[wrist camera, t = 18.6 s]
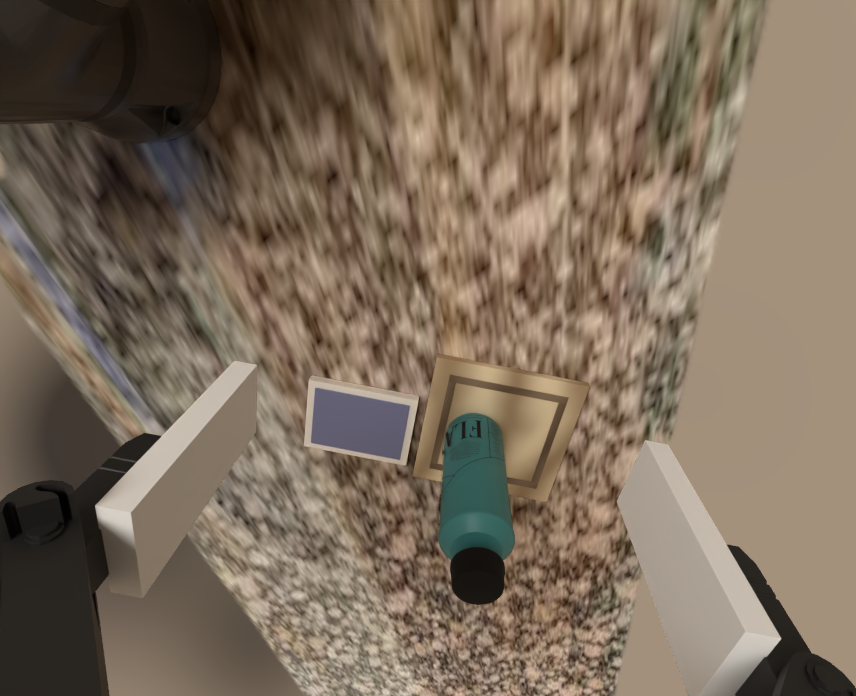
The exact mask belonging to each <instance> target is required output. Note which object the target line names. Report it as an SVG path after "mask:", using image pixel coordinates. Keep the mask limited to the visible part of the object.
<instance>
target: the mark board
mask: <svg viewBox="0 0 856 696" xmlns="http://www.w3.org/2000/svg"><path fill="white" fill-rule="evenodd" d="M589 388H590V386H589V384H588V383H586V382H581V381H576V380H570V379H565V378H560V377H555V376H550V375H545V374H539V373H534V372H529V371H524V370H519V369H514V368H508V367H503V366H498V365H493V364H488V363H483V362H477V361H472V360H467V359H462V358H457V357H452V356H446V355H441V354H437V358H436V363H435V368H434V373H433V378H432V383H431V388H430V393H429V397H428V402H427V407H426V412H425V417H424V422H423V427H422V432H421V437H420V441H419V446H418V451H417V456H416V461H415V466H414V471H413V476H415V477H420V478H425V479H430V480H435V481H441V482H442V479H441V478H442V477H441V475H443V463H442V459H443V458H444V454H443V458H442V448H443V447H444V445H443V444H444V443H443V442H444V440H445V433H446V430H447V428H448V425H449V424H450V423H451V422H452V421H453V420H454V419H455V418H457V417H458V416H461V415H463V414H467V413H479V414H483V415H486V416H488V417H490V418H491V419H493V420H494V421H495V422H496V423H497V424H498V425H499V426H500V427H499V428H501V429H500V430H501V432H502V436H503V444H504V445H505V446H504V454H506V455H505V457H506V458H505V460H506V461H505V463H506V462H507V463H506V473H507V483H508V492H509V495H513V496H518V497H523V498H528V499H533V500H538V501H544V502H547V499H548V497H549V494H550V491H551V489H552V486H553V483H554V481H555V478H556V475H557V473H558V470H559V467H560V465H561V462H562V459H563V457H564V454H565V451H566V449H567V446H568V443H569V441H570V438H571V435H572V433H573V430H574V428H575V425H576V422H577V420H578V417H579V414H580V412H581V409H582V406H583V404H584V401H585V398H586V396H587V393H588V390H589ZM443 435H444V436H443ZM443 451H444V448H443ZM441 467H442V468H441ZM441 471H442V472H441ZM507 471H508V472H507ZM441 473H442V474H441Z"/></svg>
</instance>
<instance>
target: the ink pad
mask: <svg viewBox="0 0 856 696" xmlns="http://www.w3.org/2000/svg"><path fill="white" fill-rule="evenodd" d="M418 401H419V396H416V395H411V394H406V393H401V392H396V391H391V390H385V389H380V388H375V387H370V386H365V385H360V384H355V383H349V382H344V381H339V380H334V379H329V378H324V377H318V376H313V375H311V377H310V379H309V384H308V398H307V411H306V425H305V439H304V446H307V447H312V448H317V449H322V450H327V451H332V452H338V453H343V454H348V455H353V456H358V457H363V458H369V459H374V460H379V461H384V462H389V463H394V464H400V465H405V466H406V463H407V458H408V452H409V447H410V442H411V437H412V432H413V427H414V422H415V416H416V411H417V406H418Z"/></svg>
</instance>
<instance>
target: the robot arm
mask: <svg viewBox="0 0 856 696" xmlns="http://www.w3.org/2000/svg"><path fill="white" fill-rule="evenodd" d="M220 73H221V51H220V43H219V37H218V33H217V28H216V25H215V22H214V19H213V16H212V13H211V10H210V8H209V6H208V3H207V1H206V0H0V124H34V123H67V122H75V123H78V124H80V125H82V126H85V127H87V128H89V129H92V130H94V131H96V132H99V133H101V134H103V135H106V136H108V137H111V138H114V139H117V140H122V141H126V142H133V143H152V142H162V141H168V140H172V139H176V138H178V137H181V136H183V135H185V134H186V133H188V132H190V131H191V130H192V129H194V128H195V127H196V126H197V125H198V124H199V123H200V122H201V121H202V120H203V119H204V117H205V116H206V114H207V113H208V111H209V110H210V108H211V106H212V104H213V102H214V99H215V97H216V93H217V90H218V86H219V81H220ZM256 410H257V365H255V364H249V363H244V362H239V361H234V362H233V363H232V364H231V365H230V366H229V367H228V368H227V369H226V370H225V371H224V372H223V373H222V374H221V375H220V376H219V377H218V378H217V379H216V380H215V382H214V383H213V384H212V385H211V386H210V387H209V388H208V389H207V390H206V391H205V392H204V393H203V394H202V395H201V396H200V397H199V398H198V399H197V400H196V401H195V402H194V403H193V404H192V405H191V406H190V407H189V409H188V410H187V411H186V412H185V413H184V414H183V415H182V416H181V417H180V418H179V419H178V420H177V421H176V422H175V423H174V424H173V425H172V426H171V427H170V428H169V429H168V430H167V431H166V432H165V433H164V434H163V436H158V435H153V434H147V433H143V434H142V435H140V436H138V437H136V438H134V439H132V440H130V441H128V442H126V443H125V444H124V445H123V446H121V447H120V448H119V449H118V450H117V451H116V452H115V453H114V454H113V455H112V457H111V459H108V460H107V461H106V462H105V463H104V464H102V465H101V467H100V469H97V470H96V471H95V472H94V473H93V474H92V475H91V476H90V477H89V478H88V479H87V480H86V481H85V482H84V483H82V484H81V485H80V486H79V487H78V488H77V489H76V490H75V491H74V489H73V487H72V486H71V485H69V484H67V483H65V482H62V481H53V480H49V481H42V482H35V483H32V484H29V485H26V486H23V487H20V488H18V489H17V490H15V491H13V492H12V493H10V494H8V495H7V496H6V497H5V498H4V499H3V500H1V502H0V696H109V689H108V681H107V674H106V666H105V658H104V650H103V643H102V635H101V627H100V619H99V612H98V604H97V597H96V592H95V591H96V590H97V589H98V588H99V586H100V585H101V584H102V582H103V581H104V580H105V579H106V577H107V576H108V581H109V586H110V591H111V592H112V593H118V594H123V595H128V596H133V597H138V598H143V597H144V596H145V594H146V593H147V591H148V590H149V588H150V587H151V585H152V584H153V582H154V581H155V579H156V578H157V576H158V575H159V573H160V572H161V571H162V569H163V568H164V566H165V565H166V563H167V562H168V560H169V559H170V557H171V556H172V554H173V553H174V551H175V550H176V549H177V547H178V546H179V544H180V543H181V541H182V540H183V538H184V537H185V535H186V534H187V532H188V531H189V530H190V528H191V527H192V525H193V524H194V522H195V521H196V519H197V518H198V516H199V515H200V513H201V512H202V510H203V509H204V508H205V506H206V505H207V503H208V502H209V500H210V499H211V497H212V496H213V494H214V493H215V491H216V490H217V488H218V487H219V486H220V484H221V483H222V481H223V480H224V478H225V477H226V475H227V474H228V472H229V471H230V469H231V468H232V466H233V465H234V463H235V462H236V461H237V459H238V458H239V456H240V455H241V453H242V452H243V450H244V449H245V447H246V446H247V444H248V443H249V441H250V440H251V439H252V437H253V436H254V434H255V433H256ZM617 503H618V506H619V509H620V512H621V514H622V517H623V520H624V523H625V525H626V528H627V531H628V533H629V536H630V539H631V542H632V544H633V547H634V550H635V552H636V555H637V558H638V561H639V563H640V566H641V569H642V571H643V574H644V577H645V580H646V582H647V585H648V588H649V590H650V593H651V596H652V599H653V601H654V604H655V607H656V609H657V612H658V615H659V618H660V620H661V623H662V626H663V628H664V631H665V634H666V636H667V639H668V642H669V645H670V647H671V650H672V653H673V656H674V658H675V661H676V664H677V666H678V669H679V672H680V674H681V677H682V680H683V683H684V685H685V688H686V691H687V694H688V696H856V688H855V686H854V685H853V684H852V683H851V681H850V680H849V679H848V678H847V677H846V676H845V675H844V674H843V673H842V672H841V671H840V670H838V669H837V668H836V667H835V666H834V665H832V664H831V663H830V662H828V661H827V660H825V659H823V658H821V657H819V656H818V655H815V654H812V653H811V651H810V650H809V648H808V647H807V645H806V643H805V642H804V640H803V639H802V637H801V635H800V634H799V632H798V631H797V629H796V627H795V626H794V624H793V623H792V621H791V619H790V618H789V616H788V615H787V613H786V611H785V610H784V608H783V607H782V605H781V603H780V602H779V600H777V599H776V596H775V594H774V592H773V591H772V589H771V587H770V586H769V585H767V583H766V582H767V581H766V579H765V578H764V576H763V575H762V573H761V571H760V570H759V568H758V567H757V565H756V564H755V563H754V562H753V561H752V560H751V559H750V558H749V557H748V556H747V555H746V554H745V553H744V552H743V551H742V550H741V549H740V548H739V547H737V546H732V545H727V544H726V543H725V541H724V540H723V538H722V536H721V534H720V533H719V531H718V529H717V528H716V526H715V524H714V523H713V521H712V519H711V517H710V516H709V514H708V512H707V511H706V509H705V507H704V505H703V504H702V502H701V500H700V499H699V497H698V495H697V493H696V492H695V490H694V488H693V487H692V485H691V483H690V482H689V480H688V478H687V476H686V475H685V473H684V471H683V470H682V468H681V466H680V464H679V463H678V461H677V459H676V458H675V456H674V454H673V452H672V451H671V449H670V447H669V446H668V444H663V443H657V442H652V441H647V440H645V442H644V444H643V446H642V448H641V450H640V453H639V455H638V457H637V459H636V461H635V463H634V466H633V468H632V470H631V472H630V474H629V476H628V478H627V481H626V483H625V485H624V487H623V489H622V491H621V494H620V496H619V498H618V500H617Z"/></svg>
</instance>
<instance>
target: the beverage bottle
mask: <svg viewBox="0 0 856 696" xmlns="http://www.w3.org/2000/svg"><path fill="white" fill-rule="evenodd" d="M499 427H500V426H499V425H498V424H497V423H496V422H495V421H494V420H493V419H491V418H490V417H488V416H486V415H483V414H479V413H467V414H463V415H461V416H458V417H457V418H455V419H454V420H453V421H452V422H451V423H450V424H449V425H448V428H447V430H446V433H445V440H444V442H443V443H444V444H443V445H444V447H443V448H444V451H443V448H442V458H443V454H444V458H443V459H442V463H443V475H441V477H442V478H441V479H442V482H441V481H440V482H441V485H442V493H441V494H440V499H441V501H440V499H439V501H440V502H441V504H440V505H441V510H440V506H439V511H440V524H439V525H440V530H439V544H440V547H441V549H442V551H443V552H444V554H445V555H446V556H447V557H448V558H449V559H451V565H450V572H451V580H452V589H453V591H454V593H455V595H456V596H457V597H458V598H459V599H461V600H462V601H464V602H467V603H470V604H476V605H481V604H488V603H491V602H493V601H495V600H497V599H498V598H499V597H500V596H501V595H502V593H503V590H504V575H505V567H504V562H503V560H504V559H505V558H507V557H508V555H509V554H510V553H511V551H512V550H513V547H514V544H515V535H514V531H513V526H512V517H511V509H510V501H509V492H508V483H507V473H506V463H507V462H506V463H505V461H506V460H505V458H506V457H505V455H506V454H504V446H505V445H504V444H503V436H502V432H501V430H500V429H501V428H499ZM443 436H444V435H443ZM441 468H442V467H441ZM441 472H442V471H441ZM507 472H508V471H507ZM441 474H442V473H441ZM440 489H441V486H440ZM440 502H439V503H440ZM438 518H439V517H438Z"/></svg>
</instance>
